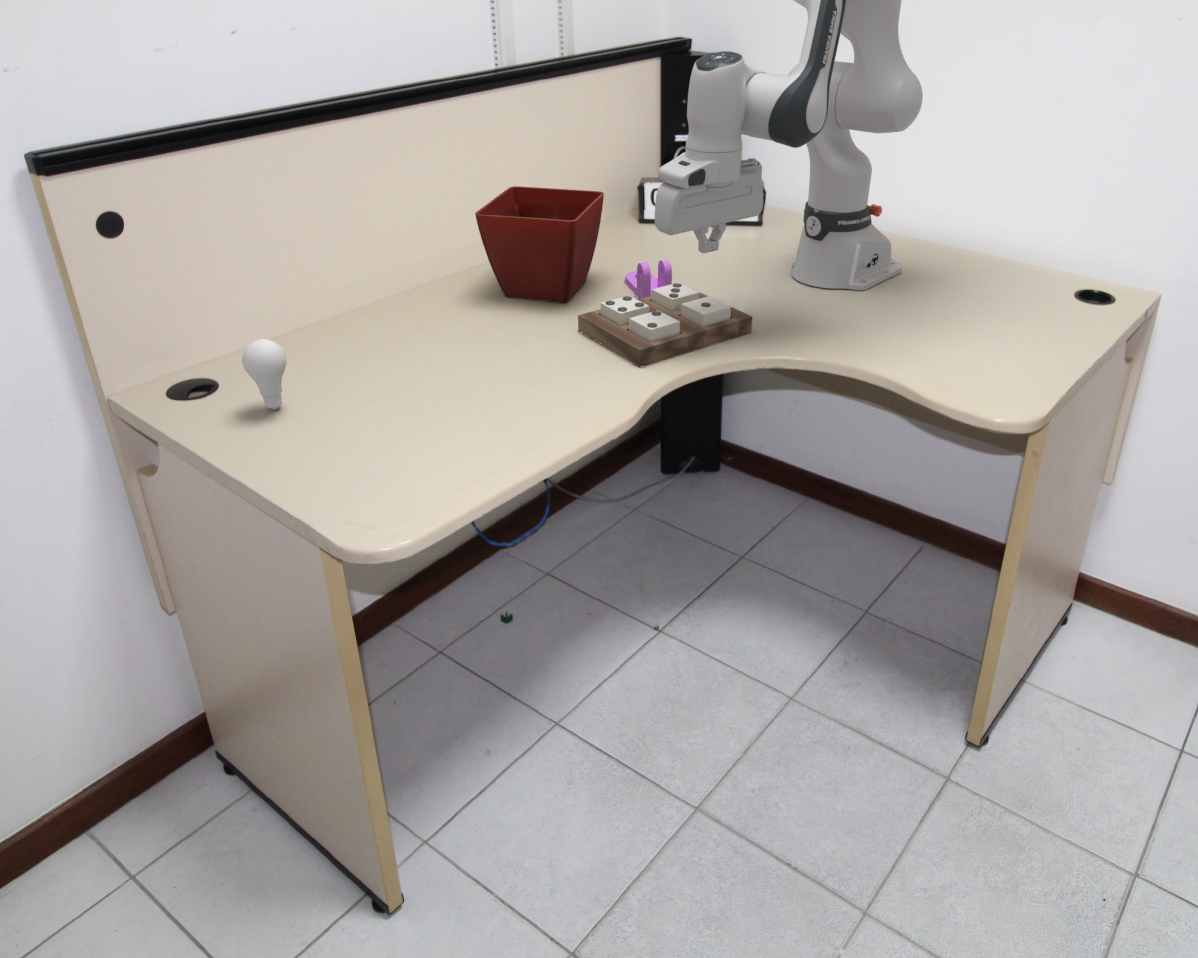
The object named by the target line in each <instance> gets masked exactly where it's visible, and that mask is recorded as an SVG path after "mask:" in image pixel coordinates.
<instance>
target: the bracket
mask: <svg viewBox="0 0 1198 958" xmlns="http://www.w3.org/2000/svg"><path fill="white" fill-rule="evenodd" d="M624 284H626V286H627V287H628V288H629V289H630V290H631V291H632V292H633V293H634V294H635V295H636V296H637V297H638V299H641V298H644V297H648V296H652V289H656V288H659V287H663V286H667V285H671V284H673V268H672V263H671V261H670V259H663V260H659V261H658V264H657V277H656V276H655V275H654V274H653V273H652V272H651V267H650V263H648V262H638V264H637V266H636V271H634V270H633V271H631V272H627V273H625V275H624Z"/></svg>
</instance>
